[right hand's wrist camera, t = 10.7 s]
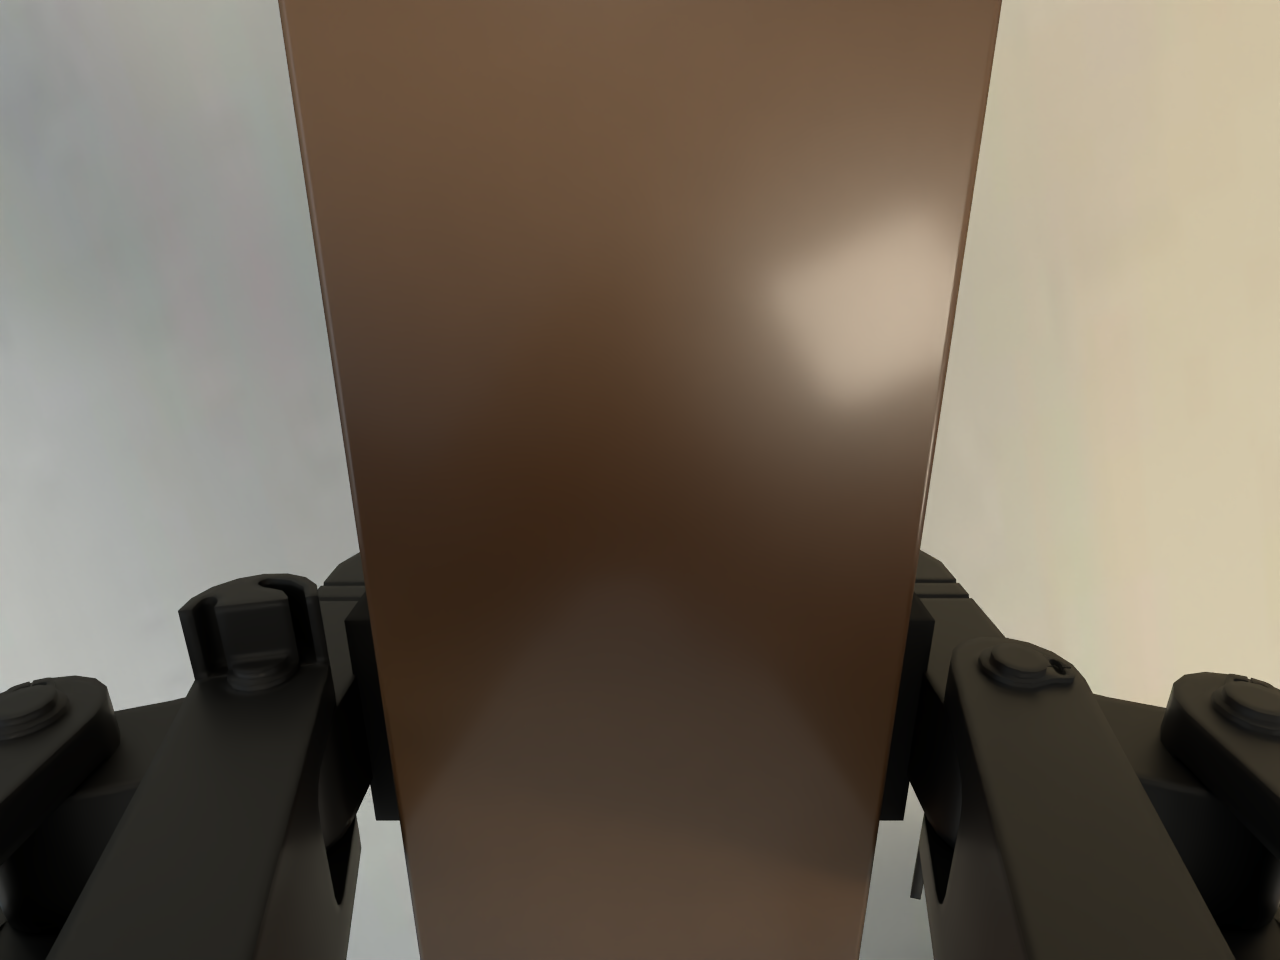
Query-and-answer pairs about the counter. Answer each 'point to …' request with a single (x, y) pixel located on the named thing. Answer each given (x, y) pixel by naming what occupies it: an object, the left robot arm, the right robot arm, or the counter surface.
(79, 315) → the counter surface
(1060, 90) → the counter surface
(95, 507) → the counter surface
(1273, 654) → the counter surface
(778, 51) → the bar
